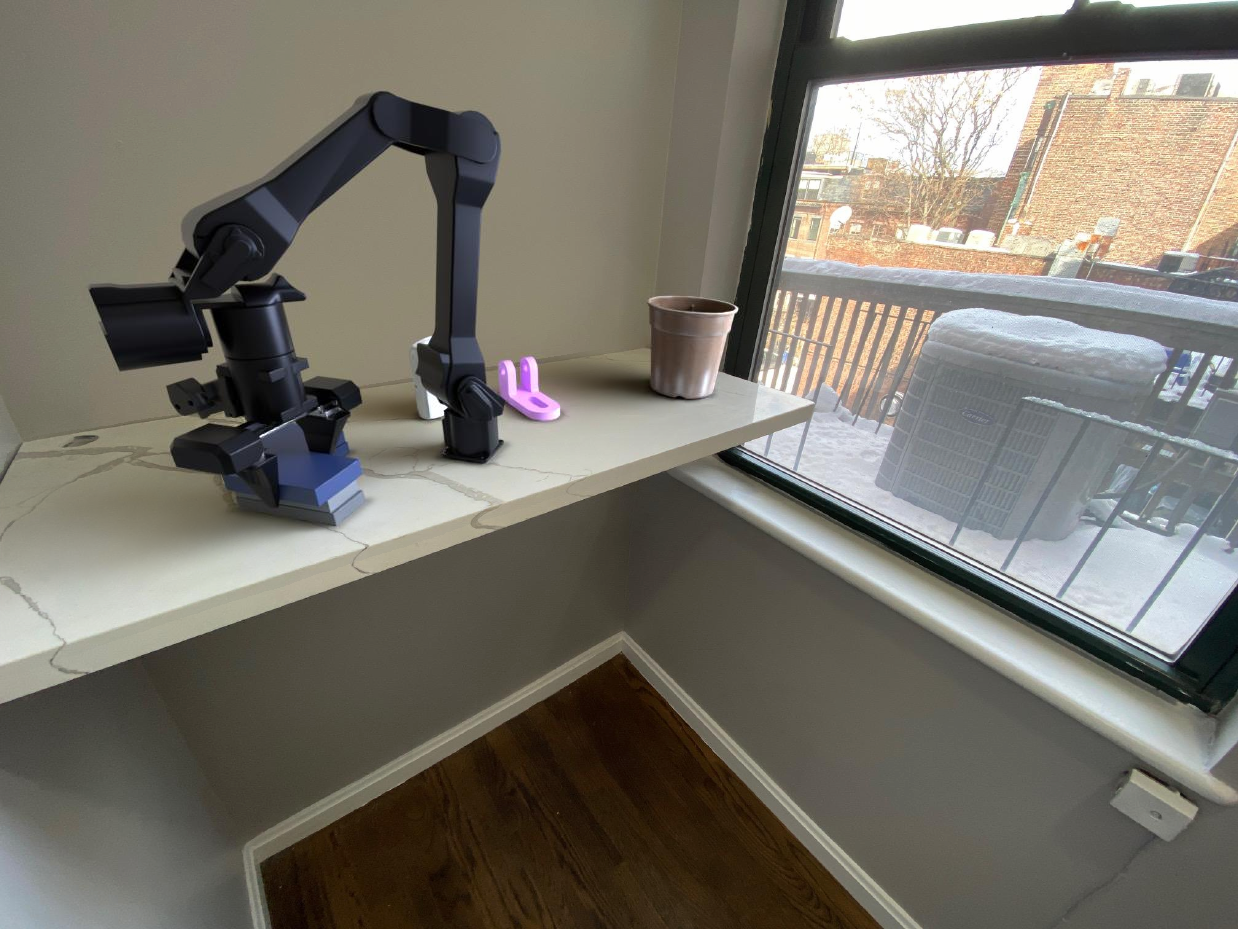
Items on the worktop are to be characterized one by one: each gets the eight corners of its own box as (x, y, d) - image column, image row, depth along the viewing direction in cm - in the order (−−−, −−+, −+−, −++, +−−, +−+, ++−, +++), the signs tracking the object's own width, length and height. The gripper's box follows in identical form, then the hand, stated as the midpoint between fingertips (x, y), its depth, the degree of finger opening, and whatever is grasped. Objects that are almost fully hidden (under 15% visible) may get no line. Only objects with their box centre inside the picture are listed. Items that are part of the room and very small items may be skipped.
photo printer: (428, 422, 78) (417, 343, 72) (413, 414, 81) (401, 337, 75) (483, 405, 85) (478, 332, 79) (468, 398, 88) (461, 326, 82)
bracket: (499, 396, 89) (497, 358, 86) (528, 391, 92) (526, 354, 89) (536, 423, 80) (535, 381, 77) (566, 416, 84) (566, 375, 80)
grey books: (365, 501, 59) (361, 479, 57) (336, 525, 54) (330, 502, 53) (274, 486, 60) (267, 463, 59) (239, 508, 56) (230, 485, 55)
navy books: (350, 452, 69) (345, 430, 67) (311, 477, 62) (305, 454, 61) (277, 440, 70) (271, 419, 69) (233, 464, 64) (225, 441, 63)
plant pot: (675, 370, 109) (684, 291, 101) (740, 391, 99) (755, 306, 91) (623, 385, 98) (628, 299, 90) (689, 411, 88) (702, 317, 81)
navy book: (362, 474, 58) (359, 458, 57) (319, 506, 52) (314, 490, 51) (278, 460, 60) (273, 445, 59) (226, 490, 54) (220, 474, 53)
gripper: (264, 322, 58) (298, 444, 66) (83, 370, 42) (155, 525, 49) (352, 332, 57) (376, 456, 64) (199, 386, 40) (255, 544, 48)
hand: (299, 489), depth 56 cm, fingers closed on navy book, 7 cm apart
